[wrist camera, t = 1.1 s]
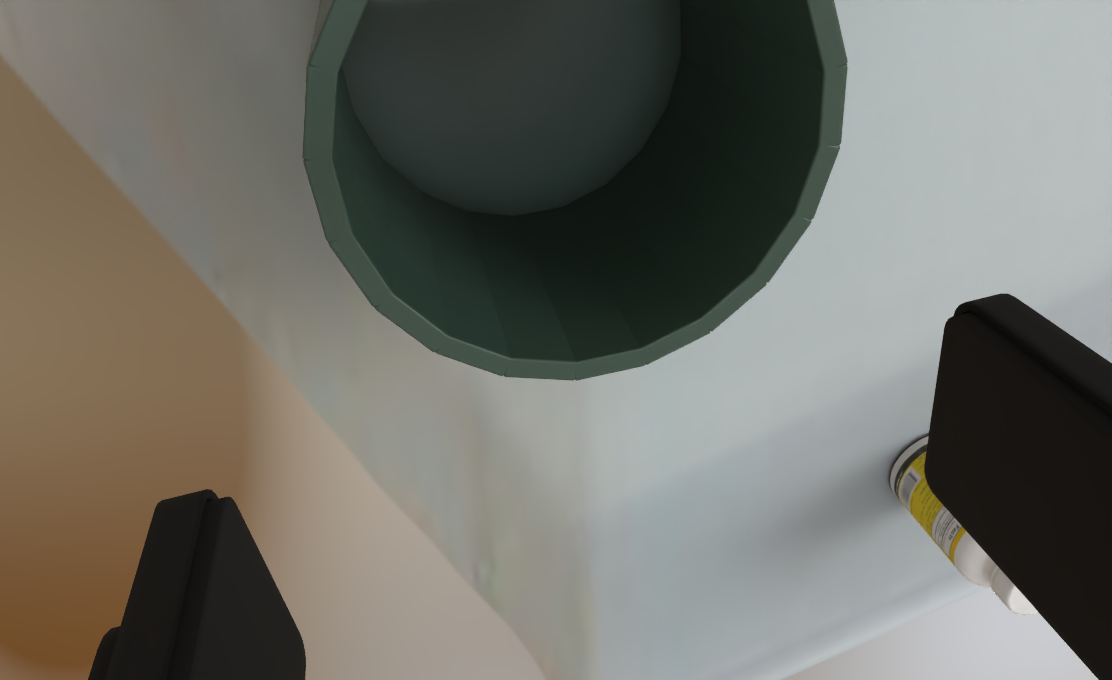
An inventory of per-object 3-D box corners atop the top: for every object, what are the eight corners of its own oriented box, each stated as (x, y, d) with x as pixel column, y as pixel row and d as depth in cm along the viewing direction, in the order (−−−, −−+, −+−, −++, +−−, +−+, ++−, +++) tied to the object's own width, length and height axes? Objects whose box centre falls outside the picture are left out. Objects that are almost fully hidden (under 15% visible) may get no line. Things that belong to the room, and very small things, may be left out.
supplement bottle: (983, 460, 50) (1106, 582, 42) (908, 511, 51) (1014, 640, 43) (950, 412, 47) (1075, 533, 39) (872, 468, 48) (978, 597, 40)
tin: (613, -252, 27) (767, -304, 17) (736, 127, 35) (889, 244, 25) (237, -44, 28) (171, 23, 18) (440, 280, 36) (474, 452, 26)
